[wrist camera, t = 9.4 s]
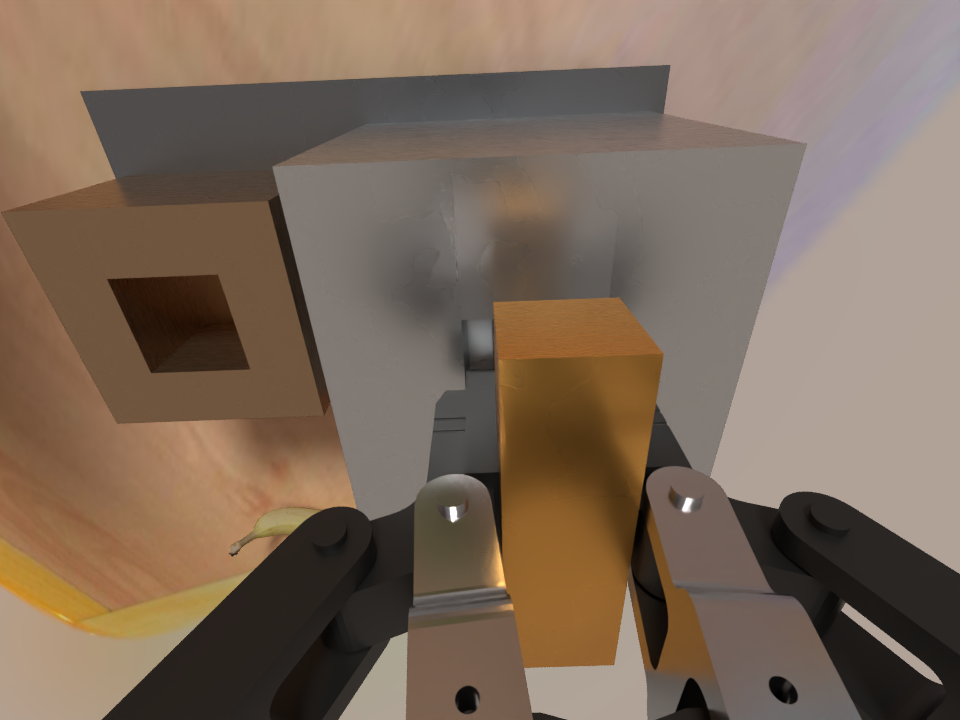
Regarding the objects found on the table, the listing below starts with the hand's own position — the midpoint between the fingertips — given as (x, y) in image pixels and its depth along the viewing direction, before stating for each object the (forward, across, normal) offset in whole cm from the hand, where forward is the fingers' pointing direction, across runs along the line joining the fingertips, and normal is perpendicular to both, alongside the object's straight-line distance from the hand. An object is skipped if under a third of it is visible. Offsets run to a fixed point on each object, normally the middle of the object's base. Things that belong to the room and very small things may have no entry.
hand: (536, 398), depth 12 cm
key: (+4, 0, 0) cm, 4 cm away
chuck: (+12, +5, 0) cm, 13 cm away
